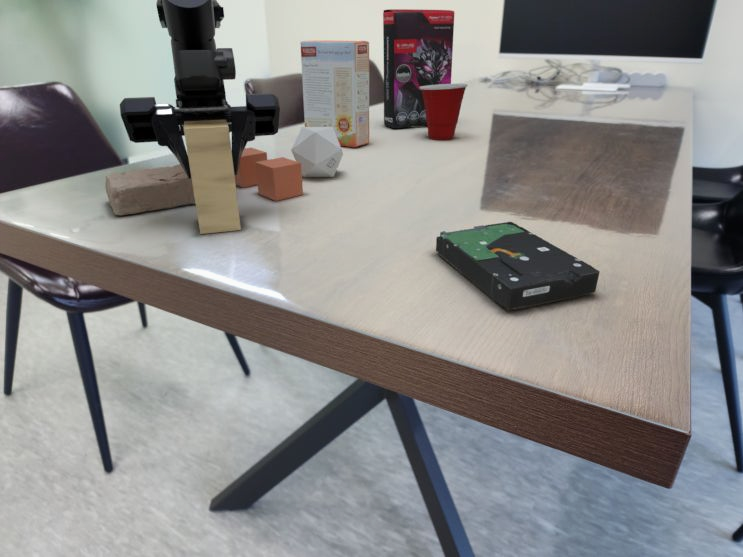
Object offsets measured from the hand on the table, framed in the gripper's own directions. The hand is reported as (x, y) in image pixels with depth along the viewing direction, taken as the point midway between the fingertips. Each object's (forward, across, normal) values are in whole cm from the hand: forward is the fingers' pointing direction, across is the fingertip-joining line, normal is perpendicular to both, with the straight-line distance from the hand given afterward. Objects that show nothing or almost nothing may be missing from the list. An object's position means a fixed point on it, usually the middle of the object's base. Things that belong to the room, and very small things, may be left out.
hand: (212, 175), depth 62 cm
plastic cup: (-28, +53, +38) cm, 71 cm away
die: (-11, +18, +21) cm, 30 cm away
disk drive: (+21, +29, -11) cm, 37 cm away
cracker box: (-29, +28, +39) cm, 56 cm away
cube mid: (-4, +10, +14) cm, 18 cm away
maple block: (+4, 0, +6) cm, 7 cm away
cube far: (-10, +6, +20) cm, 23 cm away
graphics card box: (-40, +54, +50) cm, 83 cm away
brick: (-5, -6, +16) cm, 17 cm away
